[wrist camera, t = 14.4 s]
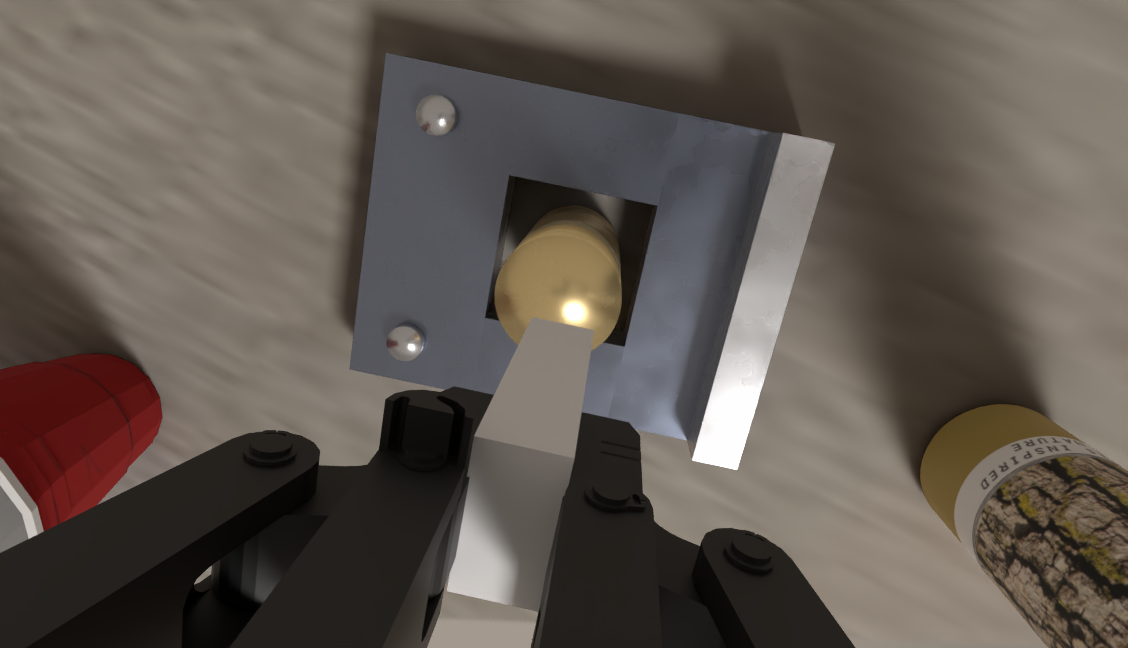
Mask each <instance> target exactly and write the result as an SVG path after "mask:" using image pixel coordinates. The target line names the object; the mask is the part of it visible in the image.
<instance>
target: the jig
mask: <svg viewBox="0 0 1128 648" xmlns="http://www.w3.org/2000/svg"><path fill="white" fill-rule="evenodd" d="M834 146H835V143H831V142H826V141H821V140H817V139H812V138H807V137H802V136H797V135H792V134H787V133H779V132H768V131H763V130H758V129H754V128H749V127H744V126H739V125H734V124H729V123H724V122H720V121H715V120H710V119H705V118H700V117H695V116H690V115H686V114H681V113H676V112H671V111H666V110H661V109H656V108H652V107H647V106H642V105H637V104H632V103H627V102H622V101H618V100H613V99H608V98H603V97H598V96H593V95H588V94H584V93H579V92H574V91H569V90H564V89H559V88H554V87H550V86H545V85H540V84H535V83H530V82H525V81H520V80H516V79H511V78H506V77H501V76H496V75H491V74H486V73H482V72H477V71H472V70H467V69H462V68H457V67H452V66H448V65H443V64H438V63H433V62H428V61H423V60H418V59H414V58H409V57H404V56H399V55H394V54H389V53H386V56H385V64H384V73H383V82H382V91H381V99H380V108H379V117H378V126H377V134H376V143H375V152H374V160H373V169H372V178H371V187H370V195H369V204H368V213H367V222H366V230H365V239H364V248H363V256H362V265H361V274H360V283H359V291H358V300H357V309H356V317H355V326H354V335H353V344H352V352H351V361H350V370H355V371H360V372H365V373H369V374H374V375H379V376H384V377H388V378H393V379H398V380H403V381H407V382H412V383H417V384H422V385H426V386H431V387H436V388H441V389H446V390H447V389H449V388H451V387H453V386H456V387H460V388H465V389H469V390H474V391H479V392H483V393H488V394H492V395H494V394H495V392H496V390H497V388H498V386H499V384H500V382H501V380H502V378H503V376H504V374H505V372H506V370H507V367H508V365H509V363H510V361H511V359H512V357H513V355H514V353H515V351H516V349H517V347H518V344H516V343H515V342H514V341H513V340H512V339H511V338H510V336H509V335H508V334H507V333H506V331H505V330H504V328H503V327H502V325H501V323H500V320H499V318H498V315H497V312H496V307H495V304H494V300H495V296H494V294H495V285H496V281H497V277H498V275H499V272H500V266H501V260H502V255H503V249H504V243H505V237H506V232H507V226H508V220H509V214H510V209H511V203H512V197H513V191H514V186H515V180H516V177H521V178H526V179H531V180H536V181H540V182H545V183H550V184H555V185H560V186H565V187H569V188H574V189H579V190H584V191H589V192H594V193H598V194H603V195H608V196H613V197H618V198H623V199H627V200H632V201H637V202H642V203H647V204H652V205H653V207H652V212H651V216H650V220H649V224H648V229H647V233H646V237H645V242H644V246H643V250H642V254H641V259H640V263H639V267H638V272H637V276H636V280H635V285H634V289H633V293H632V297H631V302H630V306H629V310H628V315H627V319H626V323H625V327H624V331H621V330H616V329H613V331H612V332H611V334H610V335H609V336H608V337H607V339H606V340H605V341H604V342H603V343H602V344H600V345H599V346H598V347H597V348H595V349H594V350H592V351H591V353H590V360H589V367H588V373H587V380H586V386H585V393H584V399H583V406H582V412H584V413H589V414H593V415H598V416H603V417H607V418H612V419H616V420H621V421H626V422H629V423H630V424H631V425H632V427H633V428H634V429H636V430H641V431H646V432H650V433H655V434H660V435H665V436H669V437H674V438H679V439H684V440H687V442H688V446H689V450H690V454H691V458H692V460H693V461H698V462H702V463H707V464H712V465H717V466H721V467H726V468H731V469H736V470H737V468H738V465H739V462H740V458H741V455H742V452H743V448H744V445H745V442H746V438H747V435H748V432H749V428H750V425H751V422H752V419H753V415H754V412H755V409H756V405H757V402H758V399H759V395H760V392H761V389H762V385H763V382H764V379H765V375H766V372H767V369H768V365H769V362H770V359H771V355H772V352H773V349H774V345H775V342H776V339H777V336H778V332H779V329H780V326H781V322H782V319H783V316H784V312H785V309H786V306H787V302H788V299H789V296H790V292H791V289H792V286H793V282H794V279H795V276H796V272H797V269H798V266H799V262H800V259H801V256H802V253H803V249H804V246H805V243H806V239H807V236H808V233H809V229H810V226H811V223H812V219H813V216H814V213H815V209H816V206H817V203H818V199H819V196H820V193H821V189H822V186H823V183H824V179H825V176H826V173H827V170H828V166H829V163H830V160H831V156H832V153H833V150H834Z"/></svg>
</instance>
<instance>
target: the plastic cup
mask: <svg viewBox="0 0 1128 648" xmlns="http://www.w3.org/2000/svg"><path fill="white" fill-rule="evenodd" d="M161 420H162V410H161V403H160V397H159V395H158V394H157V392H156V390H155V388H154V386H153V384H152V383H151V381H150V379H149V378H148V377H147V376H146V375H145V374H144V373H142V372H141V371H140V370H139V369H138V368H137V367H136V366H135V365H134V364H132V363H130V362H128V361H125V360H123V359H121V358H119V357H116V356H114V355H108V354H78V355H73V356H69V357H64V358H60V359H55V360H51V361H46V362H32V363H27V364H23V365H18V366H14V367H9V368H5V369H0V553H1V552H3V551H5V550H7V549H9V548H11V547H13V546H15V545H17V544H19V543H21V542H23V541H25V540H27V539H29V538H31V537H33V536H35V535H38V534H40V533H42V532H44V531H46V530H48V529H50V528H52V527H54V526H56V525H58V524H60V523H62V522H64V521H66V520H68V519H70V518H72V517H74V516H76V515H78V514H80V513H82V512H84V511H86V510H88V509H90V508H93V507H95V506H96V505H97V504H98V503H99V502H100V501H101V500H102V499H103V498H104V497H105V495H106V494H107V493H108V492H109V491H110V490H111V489H112V488H113V487H114V485H115V484H116V483H117V482H118V481H119V480H120V479H121V478H122V477H123V475H124V474H125V473H126V472H127V469H128V467H129V466H130V465H131V464H132V463H133V462H134V461H135V460H136V459H137V458H138V457H139V456H140V455H141V454H142V453H143V452H144V451H145V450H146V449H147V448H148V446H149V445H150V444H151V443H152V442H153V439H154V437H155V436H156V435H157V434H158V430H159V427H160V424H161Z"/></svg>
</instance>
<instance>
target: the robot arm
mask: <svg viewBox="0 0 1128 648" xmlns="http://www.w3.org/2000/svg"><path fill="white" fill-rule="evenodd" d="M593 334H594V330H591V329H587V328H582V327H577V326H573V325H568V324H563V323H559V322H554V321H549V320H545V319H540V318H535V317H532V318H531V320H530V322H529V324H528V326H527V329H526V331H525V333H524V335H523V337H522V339H521V341H520V343H519V345H518V347H517V349H516V351H515V353H514V355H513V357H512V359H511V361H510V363H509V365H508V367H507V370H506V372H505V374H504V376H503V378H502V380H501V382H500V384H499V386H498V388H497V390H496V392H495V394H494V395H492V394H488V393H483V392H479V391H474V390H469V389H465V388H460V387H456V386H453V387H451V388H449V389H447V390H444V391H442V392H436V391H428V390H408V391H403V392H399V393H395V394H393V395H392V396H390V397H388V398H387V399H386V400H385V407H384V415H383V423H382V430H381V438H380V445H379V450H378V451H377V453H376V454H375V455H374V457H373V458H372V459H371V461H370V462H369V463H368V465H362V466H321V465H319V456H320V450H319V449H318V447H317V446H316V445H315V443H314V442H312V441H310V440H308V439H307V438H305V437H303V436H300V435H296V434H292V433H289V432H286V431H278V432H276V430H266V431H263V432H255V433H248V434H245V435H242V436H239V437H236V438H233V439H231V440H229V441H227V442H225V443H223V444H221V445H219V446H217V447H215V448H213V449H211V450H209V451H207V452H205V453H203V454H200V455H198V456H196V457H194V458H192V459H190V460H188V461H186V462H184V463H182V464H180V465H178V466H176V467H174V468H172V469H170V470H168V471H166V472H164V473H162V474H160V475H158V476H156V477H154V478H152V479H150V480H148V481H145V482H143V483H141V484H139V485H137V486H135V487H133V488H131V489H129V490H127V491H125V492H123V493H121V494H119V495H117V496H115V497H113V498H111V499H109V500H107V501H105V502H103V503H101V504H99V505H97V506H95V507H93V508H90V509H88V510H86V511H84V512H82V513H80V514H78V515H76V516H74V517H72V518H70V519H68V520H66V521H64V522H62V523H60V524H58V525H56V526H54V527H52V528H50V529H48V530H46V531H44V532H42V533H40V534H38V535H35V536H33V537H31V538H29V539H27V540H25V541H23V542H21V543H19V544H17V545H15V546H13V547H11V548H9V549H7V550H5V551H3V552H1V553H0V648H427V646H428V643H429V641H430V638H431V635H432V633H433V630H434V627H435V625H436V622H437V619H438V617H439V614H440V609H441V604H442V598H443V592H444V586H445V583H446V581H447V578H448V576H449V573H450V576H449V582H448V588H447V591H449V592H454V593H458V594H462V595H467V596H471V597H476V598H480V599H485V600H489V601H493V602H498V603H502V604H507V605H511V606H516V607H520V608H524V609H529V610H533V611H538V617H537V621H536V626H535V630H534V635H533V639H532V644H531V648H855V647H854V645H853V644H852V642H851V641H850V640H849V638H848V637H847V635H846V634H845V633H844V631H843V630H842V628H841V627H840V626H839V624H838V623H837V621H836V620H835V619H834V617H833V616H832V615H831V613H830V612H829V610H828V609H827V608H826V606H825V605H824V603H823V602H822V601H821V599H820V598H819V596H818V595H817V594H816V592H815V591H814V589H813V588H812V587H811V585H810V584H809V583H808V581H807V580H806V578H805V577H804V576H803V574H802V573H801V571H800V570H799V569H798V567H797V566H796V564H795V563H794V562H793V560H792V559H791V558H790V557H789V556H788V555H787V554H786V553H785V552H784V551H783V550H782V549H781V548H780V547H778V546H776V545H775V544H773V543H772V542H770V541H769V540H767V539H766V538H765V537H763V536H760V535H758V534H757V535H756V534H755V533H753V532H750V531H747V530H738V529H733V528H721V529H714V530H712V531H710V532H708V533H706V534H705V536H704V538H703V540H702V542H701V545H700V546H698V545H695V544H693V543H691V542H688V541H686V540H683V539H681V538H679V537H677V536H675V535H673V534H671V533H669V532H668V531H666V530H665V529H663V528H662V527H660V526H659V525H658V524H657V523H656V522H654V515H653V508H652V505H651V503H650V500H649V499H648V498H647V497H646V496H645V495H644V494H643V490H642V469H641V451H640V435H639V434H638V433H637V432H636V430H635V429H634V428H633V427H632V425H631V424H630V423H629V422H626V421H621V420H616V419H612V418H607V417H603V416H598V415H593V414H589V413H584V412H582V406H583V399H584V393H585V386H586V380H587V373H588V367H589V360H590V353H591V347H592V340H593ZM211 565H212V572H211V575H210V576H208V577H207V578H205V579H204V580H203V581H201V582H200V583H197V584H195V585H194V583H195V581H196V579H197V578H198V577H199V576H200V575H201V574H202V573H203V572H205V571H206V570H207V569H208V568H209V567H210V566H211Z"/></svg>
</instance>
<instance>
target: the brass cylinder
mask: <svg viewBox="0 0 1128 648" xmlns="http://www.w3.org/2000/svg"><path fill="white" fill-rule="evenodd" d="M494 296H495V307H496V312H497V315H498V318H499V320H500V323H501V325H502V327H503V328H504V330H505V331H506V333H507V334H508V335H509V336H510V338H511V339H512V340H513V341H514V342H515V343H516V344H518V345H519V343H520V341H521V339H522V337H523V335H524V333H525V331H526V329H527V326H528V324H529V322H530V320H531V318H532V317H535V318H540V319H545V320H549V321H554V322H559V323H563V324H568V325H573V326H577V327H582V328H587V329H591V330H594V334H593V340H592V347H591V351H592V350H594V349H595V348H597V347H598V346H599V345H600V344H602V343H603V342H604V341H605V340H606V339H607V337H608V336H609V335H610V334H611V332H612V331H613V329H614V327H615V325H616V323H617V321H618V318H619V315H620V311H621V304H622V291H621V265H620V247H619V241H618V238H617V235H616V233H615V231H614V229H613V227H612V226H611V224H610V223H609V222H608V221H607V220H606V219H605V218H604V217H603V216H602V215H600V214H599V213H597V212H596V211H594V210H592V209H589V208H586V207H582V206H563V207H560V208H556V209H554V210H552V211H550V212H548V213H547V214H545V215H544V216H543V217H541V219H540V220H539V221H538V222H537V223H536V224H535V225H534V227H533V228H532V229H531V230H530V231H529V233H528V234H527V235H526V236H525V238H524V239H523V240H522V241H521V243H520V244H519V245H518V246H517V248H516V249H515V250H514V251H513V253H512V254H511V255H510V256H509V258H508V259H507V260H506V262H505V263H504V265H503V266H502V268H501V270H500V272H499V275H498V277H497V281H496V285H495V294H494Z"/></svg>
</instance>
